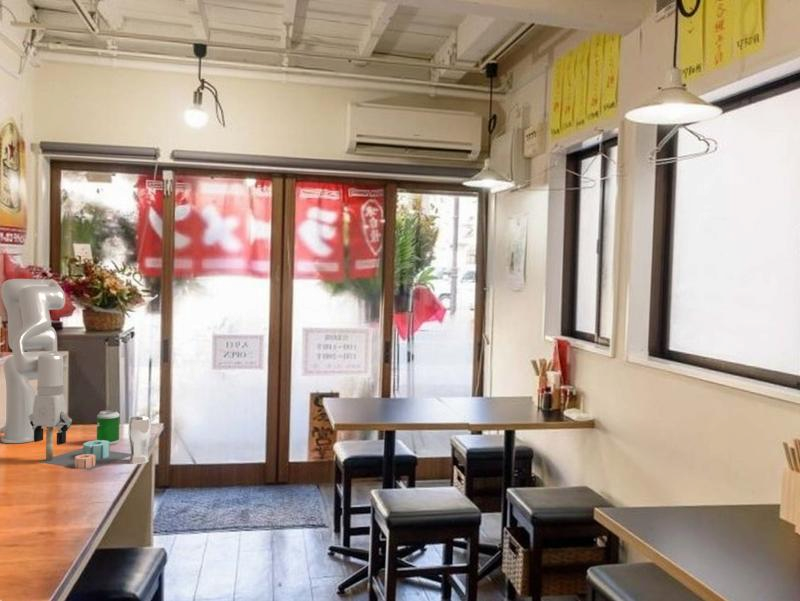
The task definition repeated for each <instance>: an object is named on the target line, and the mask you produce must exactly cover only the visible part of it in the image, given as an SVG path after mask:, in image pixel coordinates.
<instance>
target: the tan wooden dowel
mask: <svg viewBox="0 0 800 601" xmlns="http://www.w3.org/2000/svg"><path fill="white" fill-rule="evenodd" d="M45 428H46V429H45V432H46V433H45V440H46V441H45V459H46V461H52V460H53V457H54V427H46V426H45Z"/></svg>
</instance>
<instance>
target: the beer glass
mask: <svg viewBox="0 0 800 601" xmlns="http://www.w3.org/2000/svg"><path fill="white" fill-rule="evenodd" d="M151 422H152V421H151V416H147V415H137V416H131V417H129V421H128V440H129V441H128V442H129V447H130V454H131V456H129V462H128V463H129V464H132V465H140V464H141V465H142V464H147V463H149V461H150V459H149V458H150V457H149V445H150V442H151V435H152V434H151V433H152V423H151Z"/></svg>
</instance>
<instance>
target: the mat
mask: <svg viewBox="0 0 800 601" xmlns="http://www.w3.org/2000/svg"><path fill="white" fill-rule="evenodd" d="M82 454H83V447H82V448H79V449H75V450H70V451H68V452H65V453H62V454H58V455H55V456H53V460H52V461H46V458H45V459H41V460H38V461H37V463H40V464H41V463H42V464H48V465H53V466H62V467H67V468H68V467H69V468H75V469H77V468H76V467H75V457H76V456H78V455H82ZM130 456H131V453H126V452H119V451H112V450H109V456H108V457H106V458H101V459H96V462H95V466H93V467H89V468H79V469H81V470H87V471H91V470H95V469H97V468H98V469H99V468H100V467H103V466H106V465H109V464H111V463H115V462H117V461H120V460H123V459H127V458H130Z"/></svg>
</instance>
